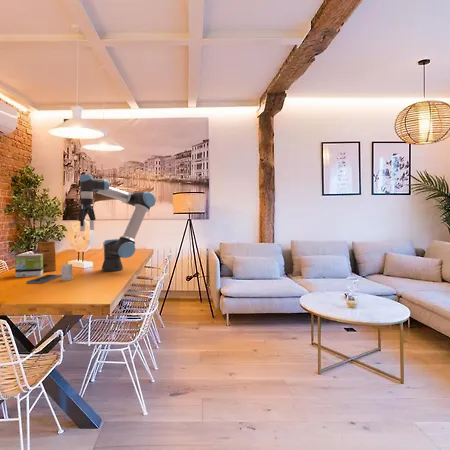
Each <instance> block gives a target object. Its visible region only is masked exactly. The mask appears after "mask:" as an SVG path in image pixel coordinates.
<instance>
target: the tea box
mask: <svg viewBox="0 0 450 450" xmlns="http://www.w3.org/2000/svg"><path fill="white" fill-rule="evenodd" d="M14 257H15V265H14V266H15V269H14V270H15V271H14V273H15V278H24V277H25V278H26V277H29V278H30V277H42V276H43V274H44V272H43V254H37V253H19V254H17V255H15V256H14Z"/></svg>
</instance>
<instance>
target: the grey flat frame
mask: <svg viewBox="0 0 450 450" xmlns="http://www.w3.org/2000/svg"><path fill="white" fill-rule="evenodd" d="M60 278H62V274H45V275H41V276H38V277H36V278H33V279H30V280H28V281H26V284H31V285H34V284H35V285H36V284H37V285H38V284H39V285H41V284H42V285H44V284H46V283H48V282H51V281H52V282H53V281H55V280H56V279H57V280H58V279H60Z"/></svg>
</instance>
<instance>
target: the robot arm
mask: <svg viewBox="0 0 450 450" xmlns="http://www.w3.org/2000/svg"><path fill="white" fill-rule="evenodd" d="M79 186H80V187H79V188H80V190H79V191H80V193H79V195H80V204H81V205H80V207H79V213H78V218H77V220H78V222H79V227H80V230H79V231H80V232H86V221H85V219H86V216H87V215H88V217H89V231H95V221H96V220H97V219H96V214H95V210H94V206H93V205H94V199H93V198H94V193H96V194H98V195H102V196H105V197H110V198H112V199H115V200H118V201H122V202H123V203H124V204H126V205H130V206H132V207H135V208H134V211H132V212H133V213H132V215H131V217H130V220H129V222H128V224H127V225H126V229H125V231H124V233H123V235H121V236H119V238H115V239H106V240H104V243H103V257H104V258H103V263H102V265H101V271H103V272H118V271H122V270H124V265H123V262H122V259H129V258H131V257H132V256H134V254H135V252H136V246H135V245H136V241H135V239H136V237H137V234H138V232H139V230H140V228H141V225H142V223H143V221H144V218H145V216H146V214H147V212H149V211H150V209H151V208H153V207H155V205H156V196H155V194H154V193H153V192H151V191H142V192H141V191H139V192H137V191H136V192H134V191H133V192H132V191H128V190H127V191H125V190H122V189H119V188H116V187H112V186H111V184H110V181H109V179H105V178H94V177H93V175H92V174H86V173H85V174H84V173H83V174H81V175H80V177H79Z"/></svg>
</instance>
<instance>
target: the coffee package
mask: <svg viewBox="0 0 450 450" xmlns="http://www.w3.org/2000/svg"><path fill="white" fill-rule="evenodd" d="M55 245H56V243H55V241H54V240H52V241H38V246H37V253H36V254H43V273H44V272H46V271H50V272H55V271H56V270H57V262H56V246H55Z"/></svg>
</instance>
